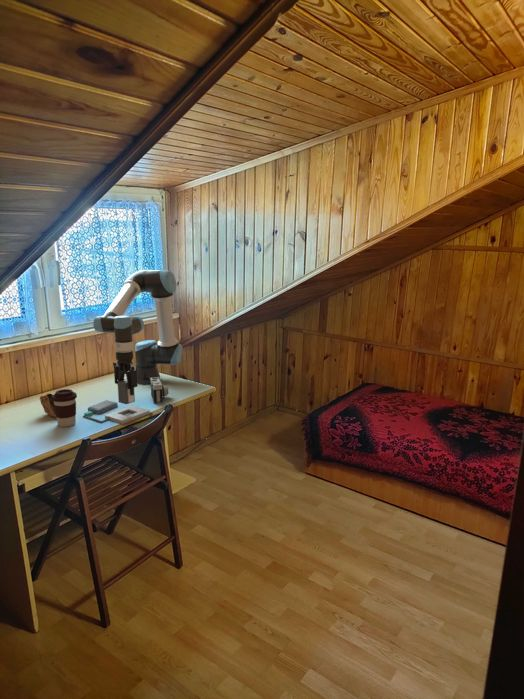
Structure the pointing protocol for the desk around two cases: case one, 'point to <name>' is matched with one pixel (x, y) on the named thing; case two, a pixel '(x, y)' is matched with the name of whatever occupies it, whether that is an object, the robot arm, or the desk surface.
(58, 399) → the coffee cup
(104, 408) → the flat grey block
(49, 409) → the decorative rock
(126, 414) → the outlet plate
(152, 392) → the camera
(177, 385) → the desk surface
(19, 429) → the desk surface
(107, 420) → the cable
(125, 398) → the charger block
